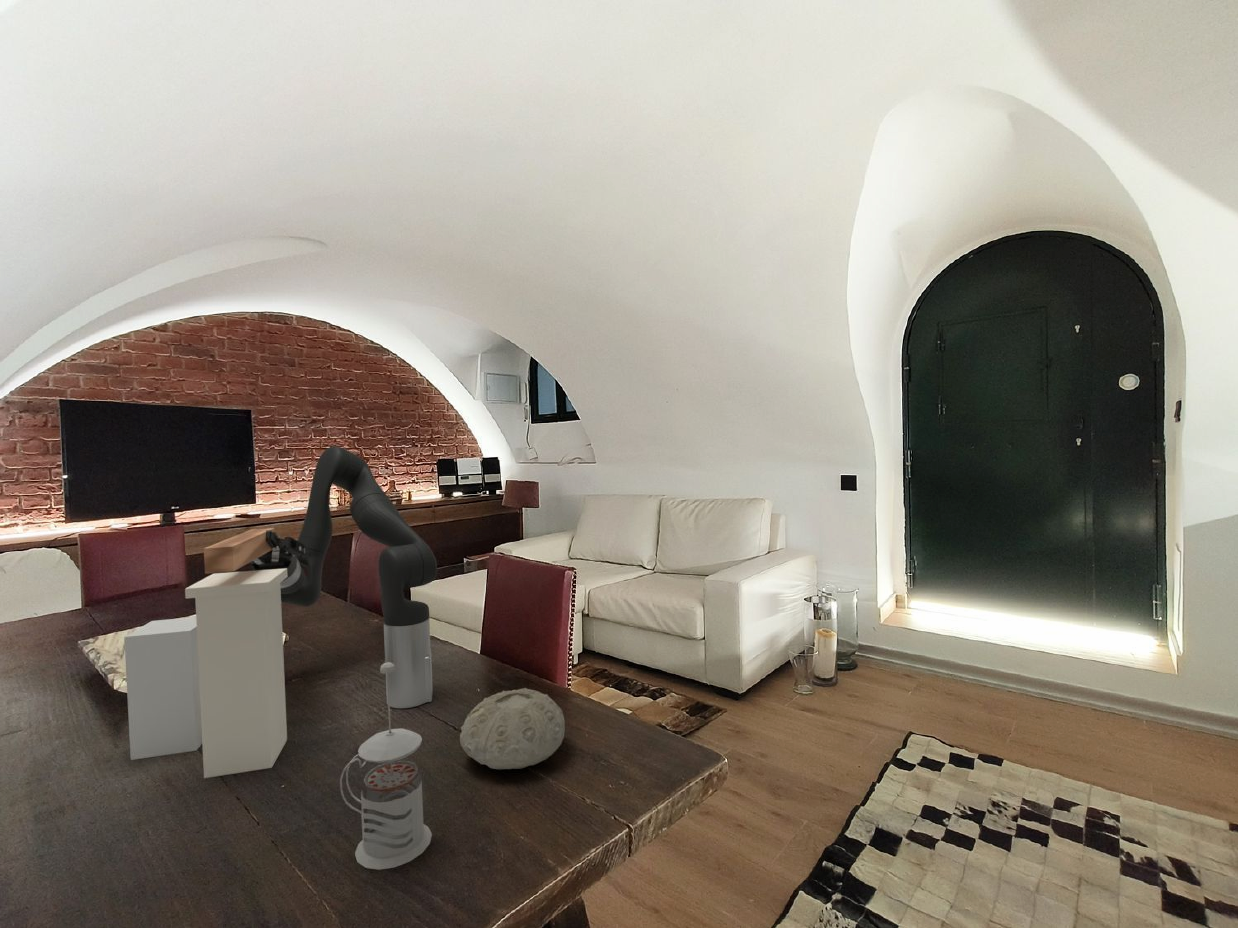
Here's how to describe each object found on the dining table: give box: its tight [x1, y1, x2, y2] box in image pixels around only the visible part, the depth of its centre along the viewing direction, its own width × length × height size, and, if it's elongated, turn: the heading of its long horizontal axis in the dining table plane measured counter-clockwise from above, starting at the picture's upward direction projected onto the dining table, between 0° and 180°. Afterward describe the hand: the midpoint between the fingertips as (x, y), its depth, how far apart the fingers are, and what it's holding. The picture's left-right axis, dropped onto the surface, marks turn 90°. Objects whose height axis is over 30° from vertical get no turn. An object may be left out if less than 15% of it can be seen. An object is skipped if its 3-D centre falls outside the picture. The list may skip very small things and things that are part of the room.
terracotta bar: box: [203, 527, 276, 575], centre depth 106 cm, size 4×24×4 cm, turn 16°
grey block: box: [123, 616, 202, 761], centre depth 110 cm, size 10×10×22 cm
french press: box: [339, 662, 433, 870], centre depth 80 cm, size 10×12×25 cm
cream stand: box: [184, 568, 288, 779], centre depth 103 cm, size 12×12×32 cm
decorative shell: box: [459, 687, 566, 770], centre depth 103 cm, size 18×18×10 cm
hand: (254, 535), depth 111 cm, fingers closed on terracotta bar, 4 cm apart
